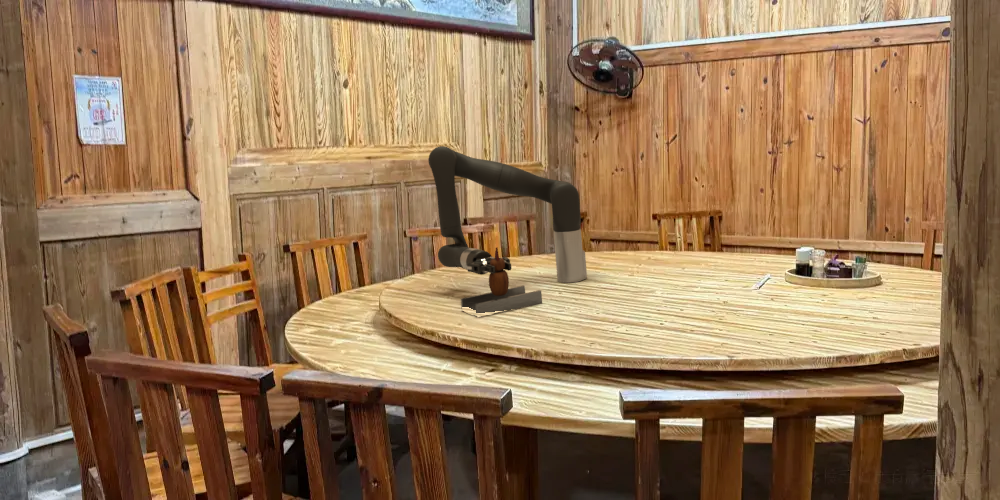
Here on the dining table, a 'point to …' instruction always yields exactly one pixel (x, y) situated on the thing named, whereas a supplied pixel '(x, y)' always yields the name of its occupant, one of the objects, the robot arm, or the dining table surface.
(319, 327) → the dining table surface
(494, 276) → the wooden figurine
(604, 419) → the dining table surface
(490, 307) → the sliding track
